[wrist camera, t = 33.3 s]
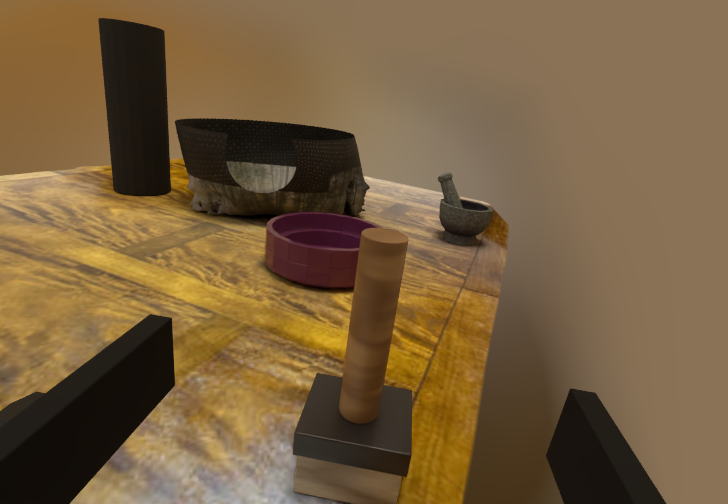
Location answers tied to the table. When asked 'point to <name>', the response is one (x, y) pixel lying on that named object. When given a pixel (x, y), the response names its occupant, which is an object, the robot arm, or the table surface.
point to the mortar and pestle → (461, 215)
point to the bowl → (315, 248)
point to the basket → (270, 167)
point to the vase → (136, 106)
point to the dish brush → (360, 394)
